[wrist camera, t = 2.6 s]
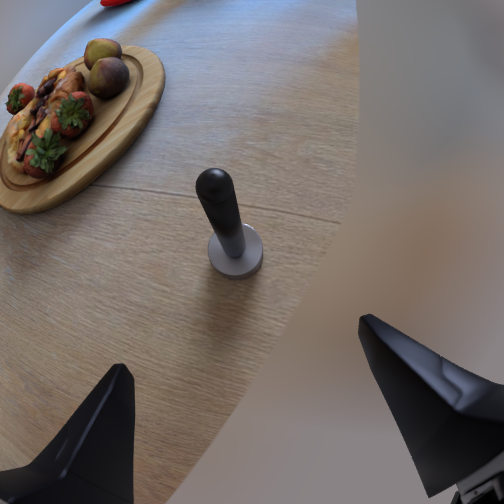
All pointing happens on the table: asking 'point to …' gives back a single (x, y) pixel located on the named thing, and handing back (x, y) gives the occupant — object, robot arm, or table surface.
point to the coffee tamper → (228, 227)
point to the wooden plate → (75, 124)
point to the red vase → (113, 2)
